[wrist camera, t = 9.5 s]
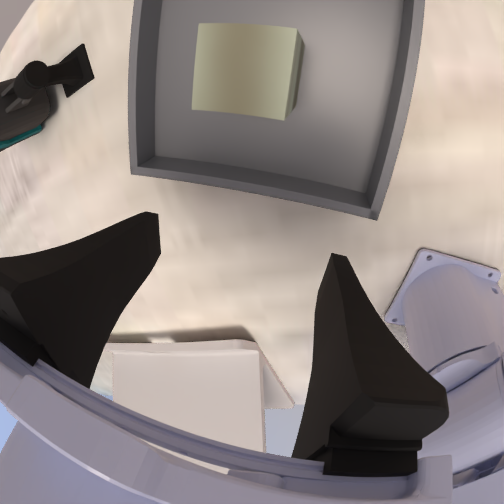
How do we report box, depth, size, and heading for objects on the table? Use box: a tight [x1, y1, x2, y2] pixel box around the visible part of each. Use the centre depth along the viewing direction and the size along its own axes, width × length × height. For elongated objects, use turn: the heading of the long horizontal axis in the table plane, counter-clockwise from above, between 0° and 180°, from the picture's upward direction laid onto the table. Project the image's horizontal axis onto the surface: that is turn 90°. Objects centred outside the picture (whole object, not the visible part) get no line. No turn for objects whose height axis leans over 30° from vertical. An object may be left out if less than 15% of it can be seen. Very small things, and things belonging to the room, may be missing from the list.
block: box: [192, 23, 305, 121], centre depth 12 cm, size 4×4×6 cm
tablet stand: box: [103, 339, 295, 475], centre depth 31 cm, size 18×25×17 cm
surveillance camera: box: [0, 44, 94, 152], centre depth 13 cm, size 6×12×10 cm
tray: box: [128, 0, 425, 220], centre depth 14 cm, size 16×15×3 cm
